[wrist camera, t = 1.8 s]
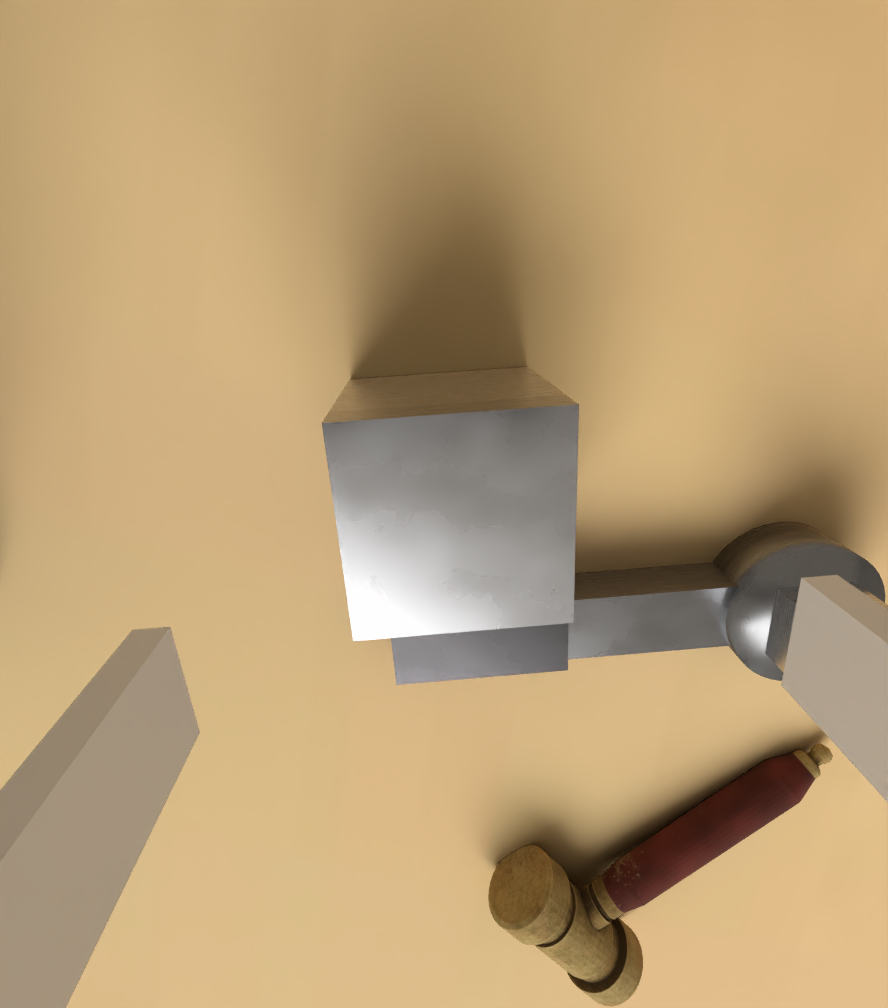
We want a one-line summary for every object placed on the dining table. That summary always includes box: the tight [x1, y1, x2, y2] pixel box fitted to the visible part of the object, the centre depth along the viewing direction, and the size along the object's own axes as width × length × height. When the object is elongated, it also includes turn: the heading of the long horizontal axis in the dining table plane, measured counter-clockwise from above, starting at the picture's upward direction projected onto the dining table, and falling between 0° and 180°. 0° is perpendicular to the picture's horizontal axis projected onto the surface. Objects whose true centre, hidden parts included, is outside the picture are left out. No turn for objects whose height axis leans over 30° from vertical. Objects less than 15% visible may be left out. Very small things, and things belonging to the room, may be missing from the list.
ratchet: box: [391, 522, 888, 685], centre depth 25 cm, size 22×7×8 cm, turn 93°
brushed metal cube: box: [322, 367, 579, 641], centre depth 22 cm, size 8×8×8 cm
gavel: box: [488, 744, 833, 1006], centre depth 33 cm, size 21×5×10 cm
